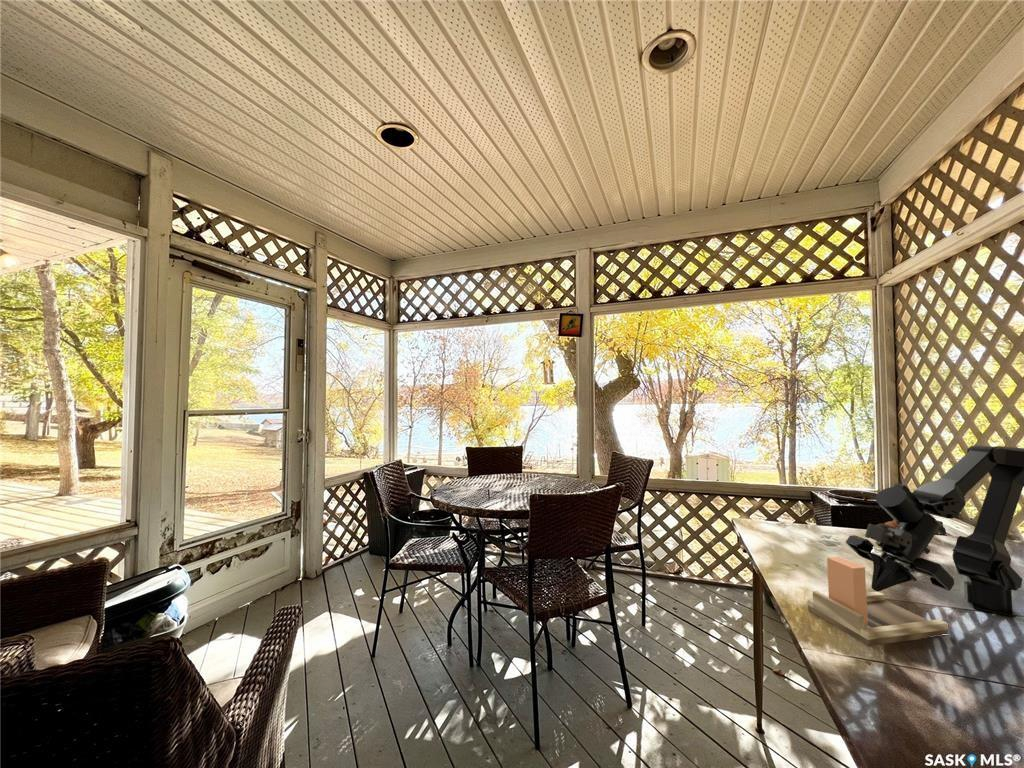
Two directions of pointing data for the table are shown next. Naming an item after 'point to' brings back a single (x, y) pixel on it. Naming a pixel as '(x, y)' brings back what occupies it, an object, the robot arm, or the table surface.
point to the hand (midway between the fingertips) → (874, 589)
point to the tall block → (847, 584)
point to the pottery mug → (889, 524)
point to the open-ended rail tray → (876, 620)
